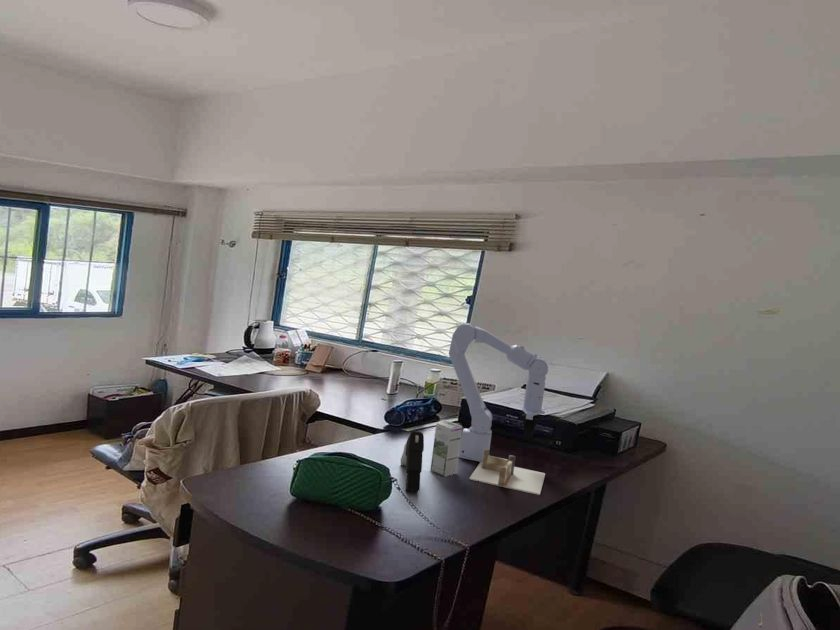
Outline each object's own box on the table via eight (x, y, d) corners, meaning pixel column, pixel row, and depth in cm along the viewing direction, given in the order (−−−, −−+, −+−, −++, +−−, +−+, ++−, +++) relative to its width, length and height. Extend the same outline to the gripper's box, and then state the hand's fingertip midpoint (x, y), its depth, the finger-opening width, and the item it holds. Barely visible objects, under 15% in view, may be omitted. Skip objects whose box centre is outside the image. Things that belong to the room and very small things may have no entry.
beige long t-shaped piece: (506, 473, 172) (508, 456, 172) (511, 474, 172) (514, 458, 172) (497, 484, 161) (499, 467, 161) (503, 486, 161) (505, 468, 160)
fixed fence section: (481, 468, 175) (483, 451, 175) (482, 466, 177) (484, 449, 176) (512, 475, 172) (515, 457, 172) (513, 473, 174) (516, 456, 174)
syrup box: (457, 474, 168) (463, 425, 167) (444, 477, 164) (450, 427, 163) (442, 467, 172) (448, 420, 171) (429, 471, 168) (435, 422, 167)
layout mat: (469, 479, 165) (469, 477, 165) (481, 461, 184) (482, 459, 184) (539, 495, 159) (540, 493, 159) (545, 474, 178) (545, 473, 178)
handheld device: (406, 488, 146) (410, 430, 152) (396, 500, 165) (400, 448, 172) (421, 489, 146) (425, 431, 153) (409, 501, 166) (413, 449, 172)
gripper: (545, 401, 175) (538, 445, 175) (548, 394, 189) (542, 434, 189) (521, 397, 177) (515, 440, 177) (526, 390, 191) (521, 430, 191)
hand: (528, 437), depth 184 cm, fingers closed
